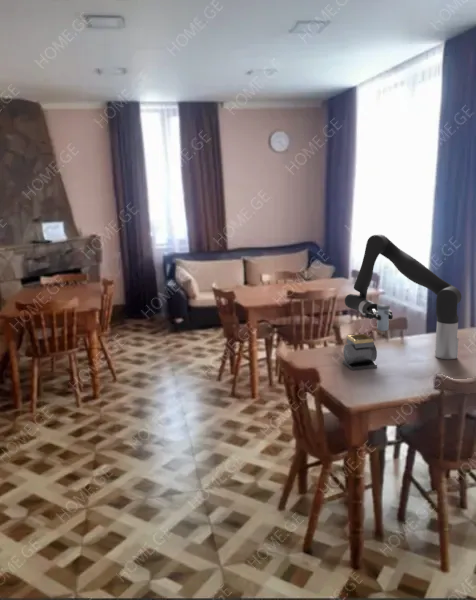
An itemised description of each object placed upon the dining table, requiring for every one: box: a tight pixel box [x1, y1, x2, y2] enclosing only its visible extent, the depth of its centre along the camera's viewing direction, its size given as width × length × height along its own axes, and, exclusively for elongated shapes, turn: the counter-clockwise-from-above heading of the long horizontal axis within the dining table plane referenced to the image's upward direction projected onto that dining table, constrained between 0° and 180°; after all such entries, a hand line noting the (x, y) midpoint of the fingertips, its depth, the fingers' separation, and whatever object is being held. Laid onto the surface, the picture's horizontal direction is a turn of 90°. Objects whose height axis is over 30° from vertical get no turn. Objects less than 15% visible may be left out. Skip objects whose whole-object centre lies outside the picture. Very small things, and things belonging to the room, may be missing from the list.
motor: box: [342, 333, 378, 371], centre depth 229 cm, size 12×10×14 cm
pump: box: [376, 303, 391, 332], centre depth 229 cm, size 7×6×11 cm
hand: (385, 317), depth 227 cm, fingers closed on pump, 5 cm apart
